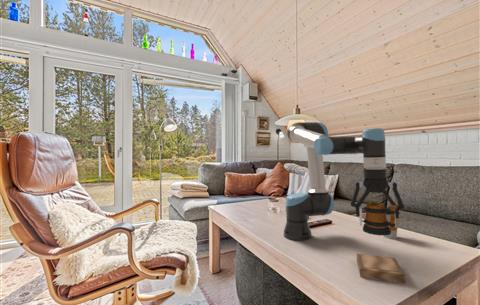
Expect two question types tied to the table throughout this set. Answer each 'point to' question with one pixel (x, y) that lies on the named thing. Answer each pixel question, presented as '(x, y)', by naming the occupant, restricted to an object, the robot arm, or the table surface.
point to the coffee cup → (393, 233)
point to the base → (380, 268)
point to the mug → (379, 219)
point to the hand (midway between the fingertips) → (376, 225)
